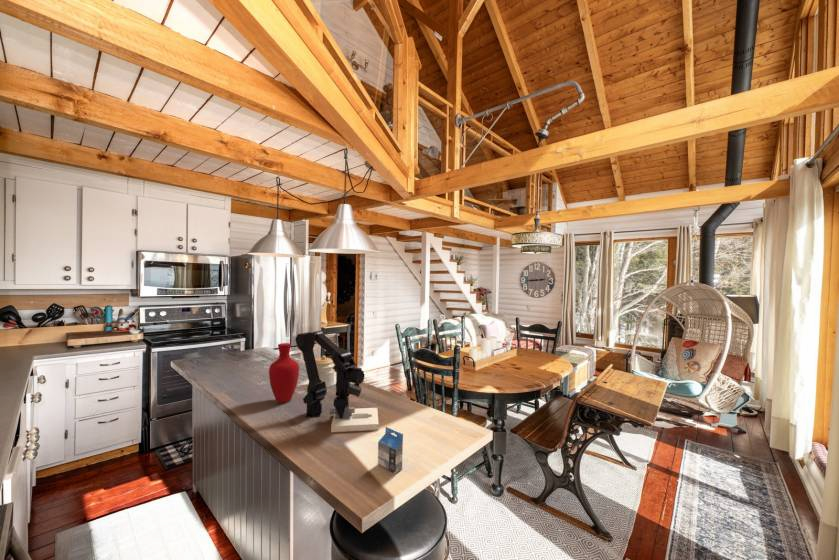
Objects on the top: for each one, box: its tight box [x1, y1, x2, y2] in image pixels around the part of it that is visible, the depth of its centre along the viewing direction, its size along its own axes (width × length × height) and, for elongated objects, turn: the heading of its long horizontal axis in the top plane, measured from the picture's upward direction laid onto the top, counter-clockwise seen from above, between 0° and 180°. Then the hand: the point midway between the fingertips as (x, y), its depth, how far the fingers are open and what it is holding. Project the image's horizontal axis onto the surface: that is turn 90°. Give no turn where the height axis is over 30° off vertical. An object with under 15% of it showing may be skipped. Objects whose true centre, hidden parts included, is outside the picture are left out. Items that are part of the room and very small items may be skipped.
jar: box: [315, 355, 336, 388], centre depth 206 cm, size 13×13×18 cm
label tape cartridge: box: [377, 426, 404, 475], centre depth 119 cm, size 9×4×12 cm, turn 50°
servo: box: [328, 403, 356, 419], centre depth 154 cm, size 11×4×6 cm, turn 99°
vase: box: [268, 342, 300, 404], centre depth 178 cm, size 15×15×30 cm
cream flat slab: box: [330, 407, 379, 433], centre depth 155 cm, size 20×18×3 cm
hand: (342, 414), depth 154 cm, fingers open, 9 cm apart
